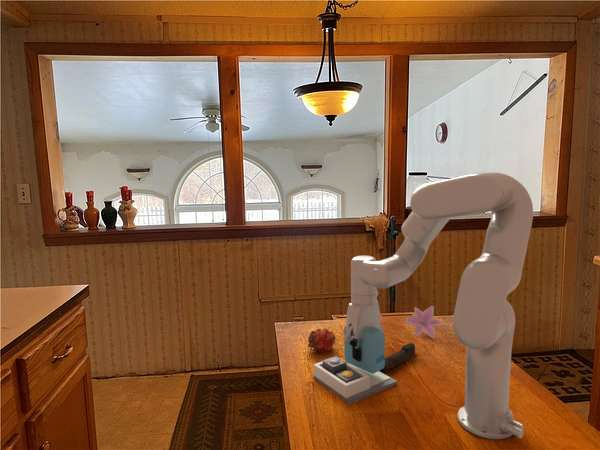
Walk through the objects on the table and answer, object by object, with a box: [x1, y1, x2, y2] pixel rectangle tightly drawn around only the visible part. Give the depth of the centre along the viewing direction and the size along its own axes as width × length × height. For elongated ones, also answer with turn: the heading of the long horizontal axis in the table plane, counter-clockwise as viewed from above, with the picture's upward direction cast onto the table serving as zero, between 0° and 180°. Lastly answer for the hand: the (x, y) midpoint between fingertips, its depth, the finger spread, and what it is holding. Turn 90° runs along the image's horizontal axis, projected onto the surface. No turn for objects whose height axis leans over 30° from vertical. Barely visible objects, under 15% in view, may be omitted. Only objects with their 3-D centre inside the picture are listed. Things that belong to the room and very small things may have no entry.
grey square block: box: [322, 355, 347, 375], centre depth 119 cm, size 5×5×3 cm
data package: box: [343, 325, 386, 374], centre depth 121 cm, size 12×4×12 cm, turn 42°
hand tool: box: [379, 342, 416, 375], centre depth 129 cm, size 19×4×5 cm, turn 129°
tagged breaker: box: [335, 369, 360, 383], centre depth 114 cm, size 5×5×3 cm
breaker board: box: [312, 360, 398, 405], centre depth 119 cm, size 17×18×4 cm
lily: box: [404, 305, 442, 339], centre depth 153 cm, size 12×12×10 cm
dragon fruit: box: [307, 328, 337, 354], centre depth 140 cm, size 8×8×12 cm
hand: (364, 356), depth 121 cm, fingers closed on data package, 5 cm apart
